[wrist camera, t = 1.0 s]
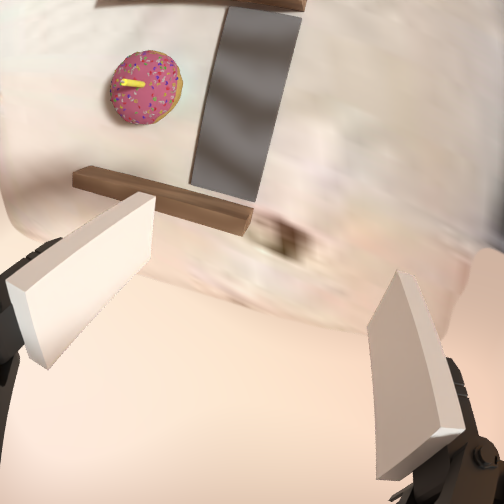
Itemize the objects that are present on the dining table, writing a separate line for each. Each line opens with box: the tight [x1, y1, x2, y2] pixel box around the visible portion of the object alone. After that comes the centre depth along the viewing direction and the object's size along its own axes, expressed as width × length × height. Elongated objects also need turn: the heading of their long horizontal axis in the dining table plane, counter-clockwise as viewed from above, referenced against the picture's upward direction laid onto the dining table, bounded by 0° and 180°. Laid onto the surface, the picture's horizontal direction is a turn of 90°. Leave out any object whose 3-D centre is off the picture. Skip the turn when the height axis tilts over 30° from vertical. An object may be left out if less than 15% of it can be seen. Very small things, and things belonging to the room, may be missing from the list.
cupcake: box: [110, 50, 183, 125], centre depth 28 cm, size 9×8×12 cm
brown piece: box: [73, 0, 307, 237], centre depth 31 cm, size 28×24×4 cm
